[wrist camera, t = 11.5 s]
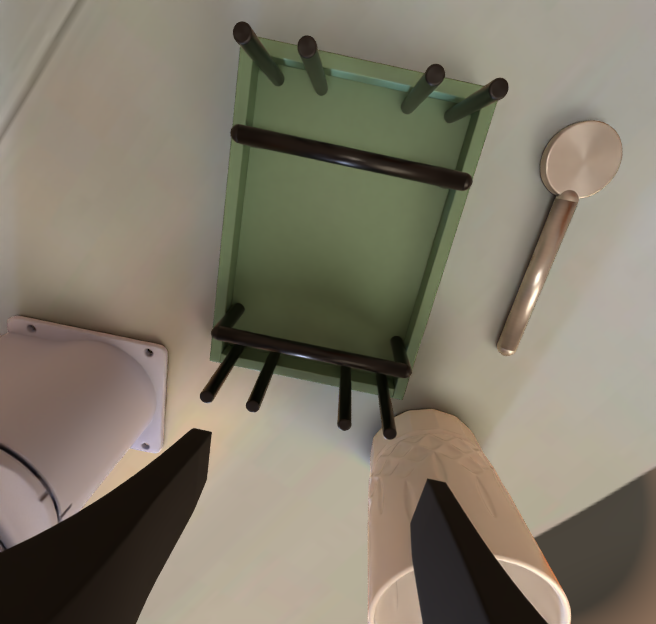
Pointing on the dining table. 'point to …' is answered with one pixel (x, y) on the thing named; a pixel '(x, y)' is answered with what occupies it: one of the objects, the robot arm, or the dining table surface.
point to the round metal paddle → (562, 207)
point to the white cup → (473, 496)
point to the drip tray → (339, 213)
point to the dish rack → (349, 159)
